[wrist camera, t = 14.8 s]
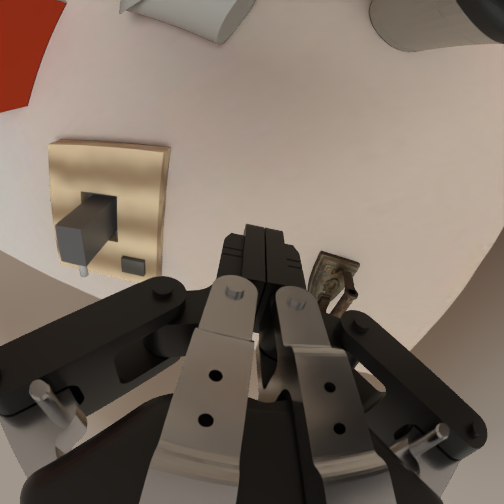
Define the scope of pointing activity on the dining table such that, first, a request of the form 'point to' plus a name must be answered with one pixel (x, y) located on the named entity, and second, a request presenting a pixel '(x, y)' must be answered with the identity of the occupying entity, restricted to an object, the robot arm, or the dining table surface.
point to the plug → (86, 230)
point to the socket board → (128, 200)
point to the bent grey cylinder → (195, 15)
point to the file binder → (23, 46)
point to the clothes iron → (333, 282)
